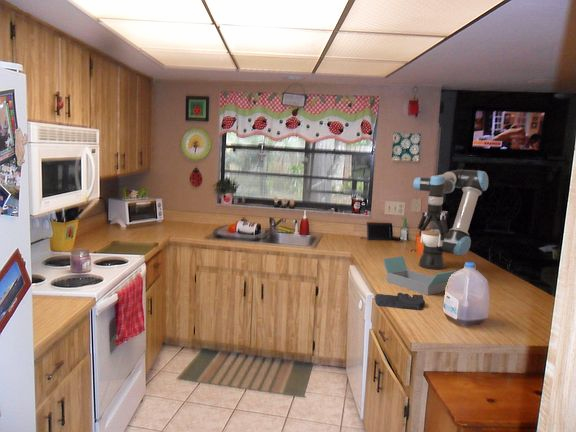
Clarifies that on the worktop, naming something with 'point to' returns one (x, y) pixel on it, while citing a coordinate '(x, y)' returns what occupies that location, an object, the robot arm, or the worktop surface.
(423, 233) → the lidded jar
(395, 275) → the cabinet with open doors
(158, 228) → the worktop surface
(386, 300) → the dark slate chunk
